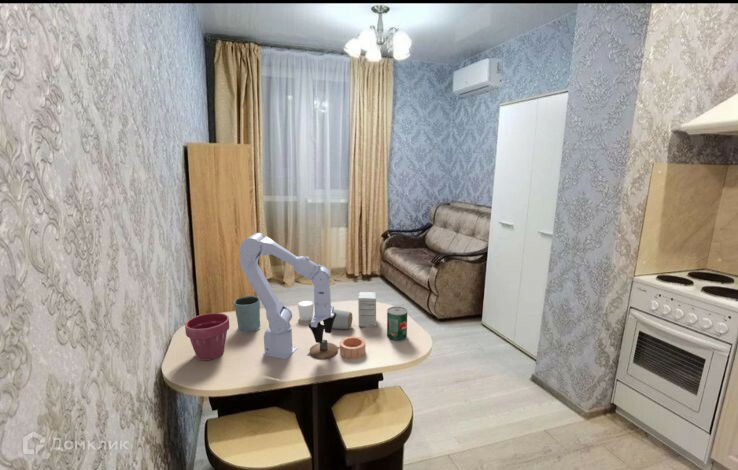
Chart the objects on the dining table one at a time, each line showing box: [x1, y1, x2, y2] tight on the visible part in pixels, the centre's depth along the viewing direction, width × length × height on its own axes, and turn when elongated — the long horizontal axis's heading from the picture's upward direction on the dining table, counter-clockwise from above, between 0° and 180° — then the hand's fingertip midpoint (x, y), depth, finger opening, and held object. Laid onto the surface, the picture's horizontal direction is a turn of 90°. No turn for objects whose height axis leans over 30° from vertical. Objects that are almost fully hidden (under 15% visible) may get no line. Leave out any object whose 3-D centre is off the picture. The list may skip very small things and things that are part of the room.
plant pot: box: [184, 312, 230, 361], centre depth 131 cm, size 14×14×13 cm
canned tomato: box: [386, 306, 409, 342], centre depth 144 cm, size 8×8×11 cm
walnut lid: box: [309, 339, 339, 360], centre depth 133 cm, size 10×10×4 cm
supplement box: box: [357, 291, 377, 328], centre depth 156 cm, size 7×7×13 cm
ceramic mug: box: [332, 308, 353, 330], centre depth 153 cm, size 11×8×8 cm
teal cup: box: [233, 295, 261, 333], centre depth 151 cm, size 10×10×12 cm
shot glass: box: [297, 299, 314, 322], centre depth 161 cm, size 7×7×7 cm
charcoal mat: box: [306, 346, 340, 361], centre depth 133 cm, size 9×9×1 cm
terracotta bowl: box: [339, 336, 366, 359], centre depth 132 cm, size 9×9×4 cm
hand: (323, 337), depth 132 cm, fingers open, 7 cm apart
